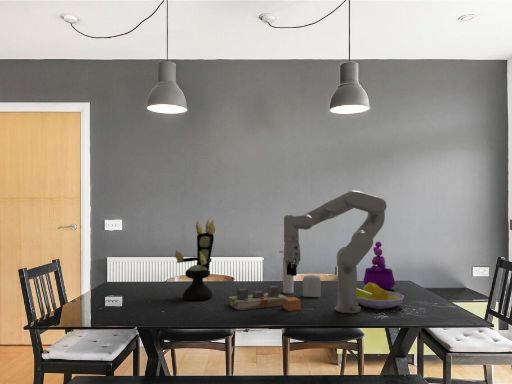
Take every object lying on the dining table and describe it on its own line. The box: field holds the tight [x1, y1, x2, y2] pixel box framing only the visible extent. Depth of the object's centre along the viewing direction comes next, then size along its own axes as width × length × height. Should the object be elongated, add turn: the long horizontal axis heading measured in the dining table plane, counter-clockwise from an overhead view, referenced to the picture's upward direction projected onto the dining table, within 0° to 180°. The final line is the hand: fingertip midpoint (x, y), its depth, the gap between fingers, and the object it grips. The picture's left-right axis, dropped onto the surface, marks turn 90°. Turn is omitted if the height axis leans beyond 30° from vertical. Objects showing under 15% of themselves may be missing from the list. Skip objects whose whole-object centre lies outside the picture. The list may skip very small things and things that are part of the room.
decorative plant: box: [363, 241, 396, 291], centre depth 252 cm, size 19×18×30 cm
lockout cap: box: [282, 296, 302, 312], centre depth 205 cm, size 7×7×5 cm
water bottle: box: [279, 250, 295, 294], centre depth 244 cm, size 9×6×25 cm
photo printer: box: [302, 274, 322, 298], centre depth 233 cm, size 10×4×12 cm, turn 84°
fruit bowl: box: [357, 282, 405, 310], centre depth 211 cm, size 28×27×11 cm
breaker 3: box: [267, 285, 280, 297], centre depth 217 cm, size 4×4×6 cm
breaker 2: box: [252, 290, 264, 299], centre depth 214 cm, size 4×4×6 cm
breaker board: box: [228, 292, 289, 311], centre depth 213 cm, size 15×28×5 cm, turn 113°
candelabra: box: [174, 218, 216, 302], centre depth 232 cm, size 19×22×45 cm
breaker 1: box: [236, 288, 249, 300], centre depth 210 cm, size 4×4×6 cm
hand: (291, 274), depth 205 cm, fingers open, 3 cm apart
